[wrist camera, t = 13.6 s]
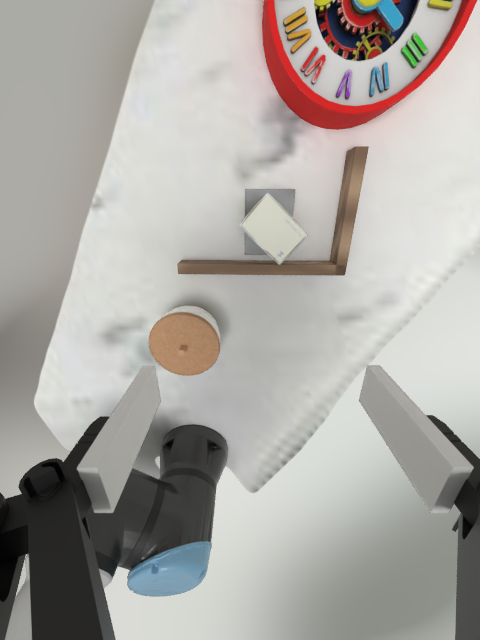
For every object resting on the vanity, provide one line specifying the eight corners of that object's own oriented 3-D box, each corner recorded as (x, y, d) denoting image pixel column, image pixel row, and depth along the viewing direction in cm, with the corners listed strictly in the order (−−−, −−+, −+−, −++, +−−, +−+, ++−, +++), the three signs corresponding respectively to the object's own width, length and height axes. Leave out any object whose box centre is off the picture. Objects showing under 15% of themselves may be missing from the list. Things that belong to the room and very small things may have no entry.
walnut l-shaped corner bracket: (337, 270, 39) (344, 275, 37) (183, 269, 40) (178, 273, 37) (358, 151, 33) (368, 146, 30) (171, 151, 33) (165, 146, 30)
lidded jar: (164, 292, 41) (142, 314, 33) (226, 301, 42) (222, 324, 33) (163, 346, 46) (145, 378, 37) (220, 353, 46) (214, 386, 38)
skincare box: (291, 227, 36) (311, 235, 25) (270, 250, 38) (280, 267, 27) (261, 195, 35) (268, 189, 24) (240, 220, 36) (238, 225, 25)
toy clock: (222, 3, 23) (400, -331, 17) (226, 41, 29) (362, -200, 22) (360, 158, 28) (539, -51, 22) (341, 166, 34) (481, 0, 27)
